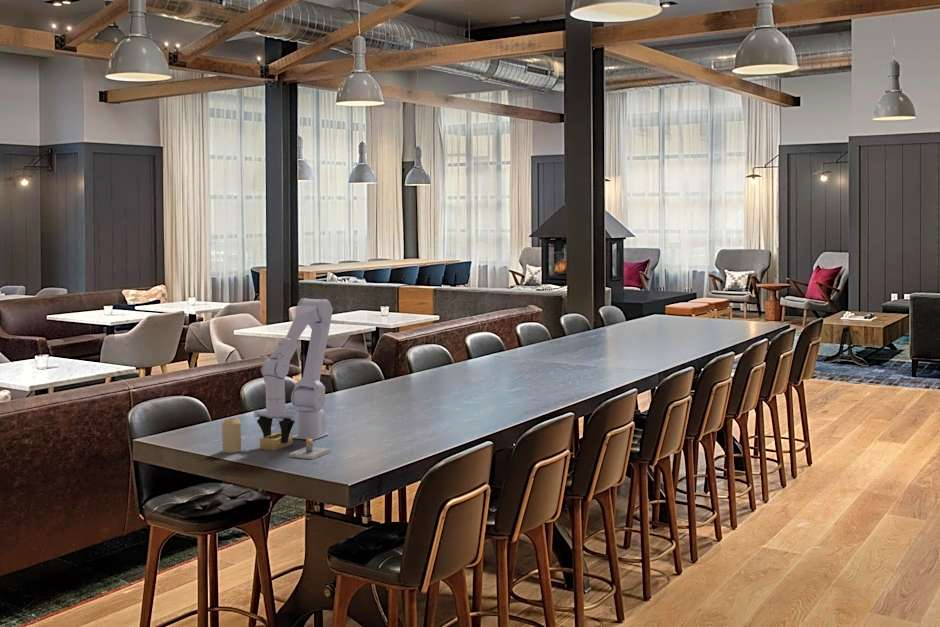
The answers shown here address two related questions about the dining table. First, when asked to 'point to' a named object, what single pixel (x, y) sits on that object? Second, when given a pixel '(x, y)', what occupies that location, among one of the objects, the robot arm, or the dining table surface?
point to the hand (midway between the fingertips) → (276, 442)
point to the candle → (231, 435)
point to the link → (274, 442)
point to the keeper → (309, 451)
